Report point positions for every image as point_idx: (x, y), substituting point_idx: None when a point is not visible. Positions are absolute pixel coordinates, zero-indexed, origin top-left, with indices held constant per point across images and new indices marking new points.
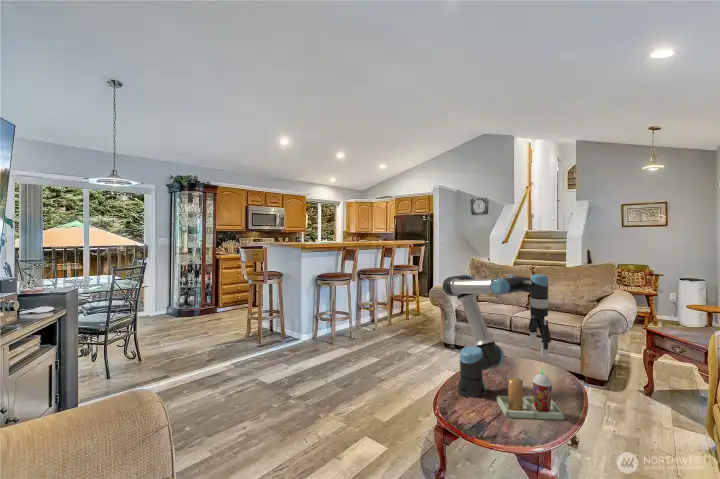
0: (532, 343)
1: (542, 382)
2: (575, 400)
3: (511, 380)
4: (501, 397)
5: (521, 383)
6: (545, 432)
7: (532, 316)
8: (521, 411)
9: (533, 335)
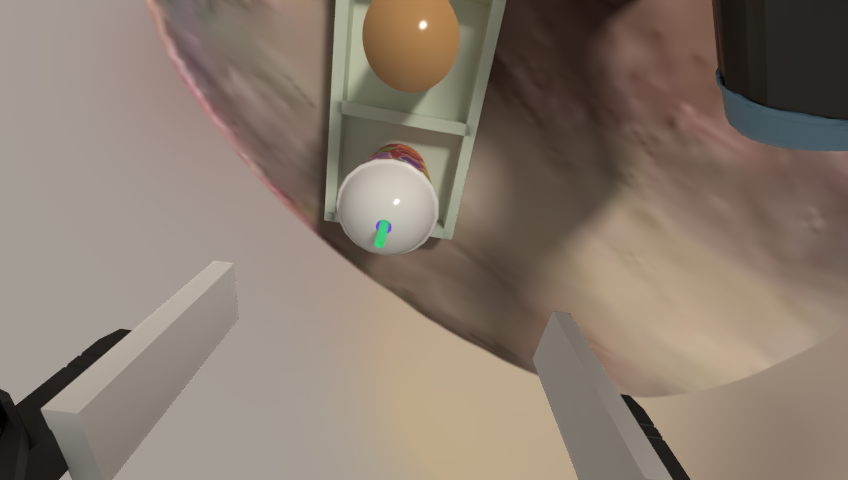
0: (554, 347)
1: (344, 194)
2: (465, 323)
3: (409, 3)
4: (490, 11)
5: (370, 65)
6: (253, 94)
7: None
8: (341, 43)
9: (600, 459)
